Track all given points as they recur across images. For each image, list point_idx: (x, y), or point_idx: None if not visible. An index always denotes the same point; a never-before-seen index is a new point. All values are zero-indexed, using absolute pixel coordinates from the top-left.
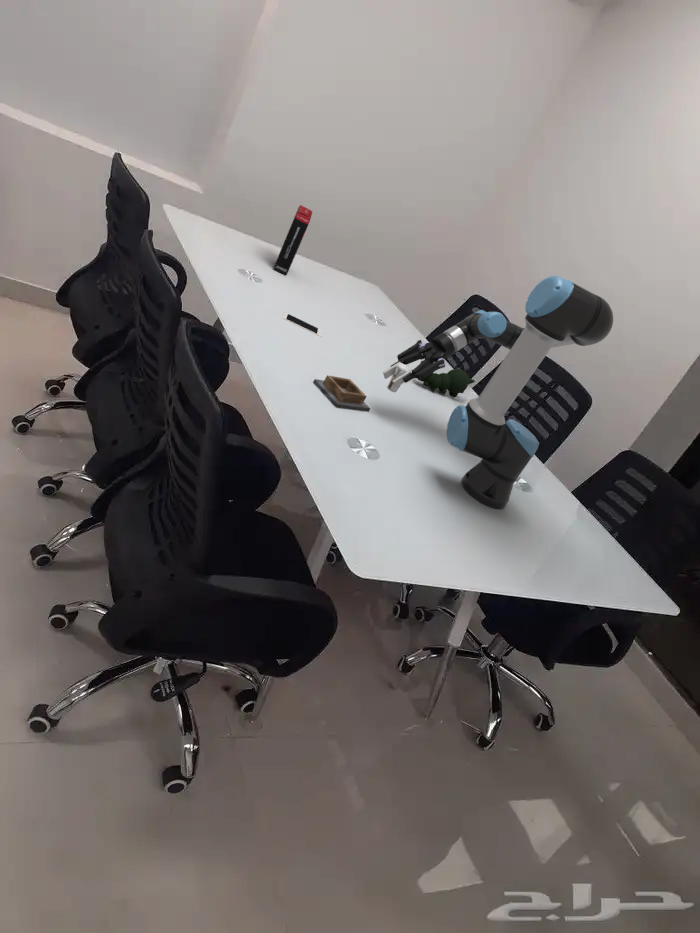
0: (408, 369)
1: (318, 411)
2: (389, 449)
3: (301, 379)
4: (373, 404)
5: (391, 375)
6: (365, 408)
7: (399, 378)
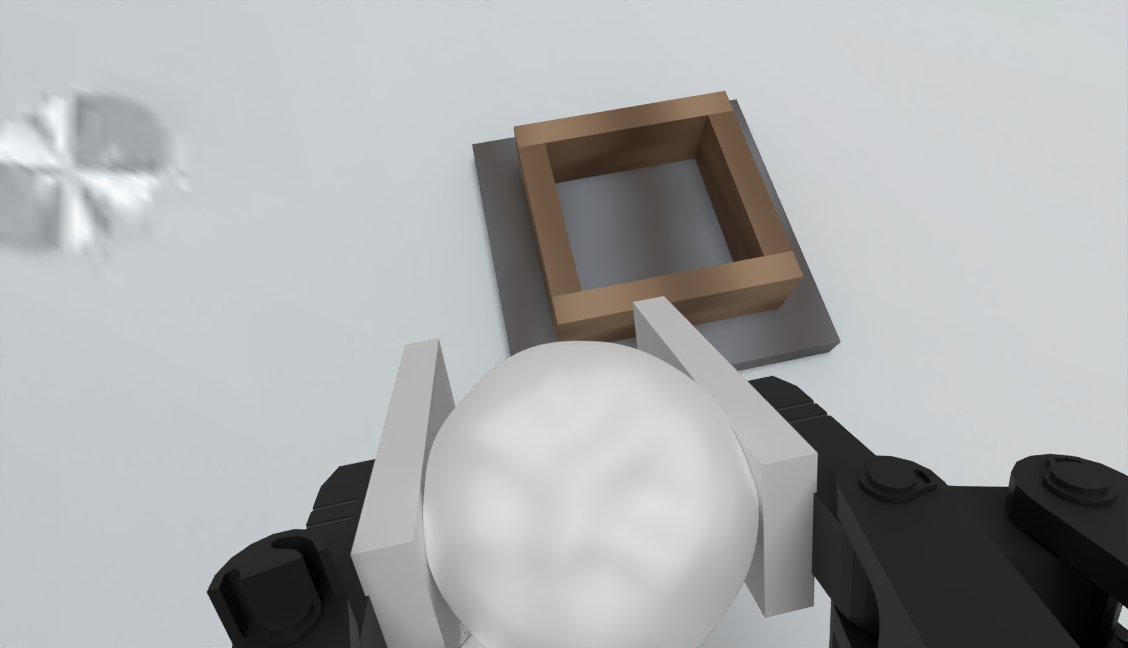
0: (462, 541)
1: (391, 46)
2: (50, 360)
3: (718, 58)
4: None
5: None
6: None
7: (396, 390)
